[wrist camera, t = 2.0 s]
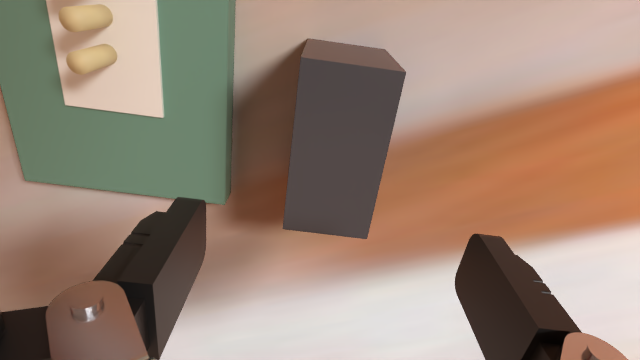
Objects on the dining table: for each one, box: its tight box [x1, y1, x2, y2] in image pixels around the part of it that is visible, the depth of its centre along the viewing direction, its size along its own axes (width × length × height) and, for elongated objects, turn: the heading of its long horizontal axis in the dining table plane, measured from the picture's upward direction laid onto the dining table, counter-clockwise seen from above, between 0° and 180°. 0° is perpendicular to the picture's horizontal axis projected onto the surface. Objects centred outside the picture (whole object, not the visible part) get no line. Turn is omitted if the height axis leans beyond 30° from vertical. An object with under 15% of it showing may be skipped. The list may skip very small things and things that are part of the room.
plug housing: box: [283, 39, 406, 239], centre depth 19 cm, size 8×4×6 cm, turn 172°
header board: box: [0, 0, 235, 205], centre depth 18 cm, size 20×12×4 cm, turn 172°
